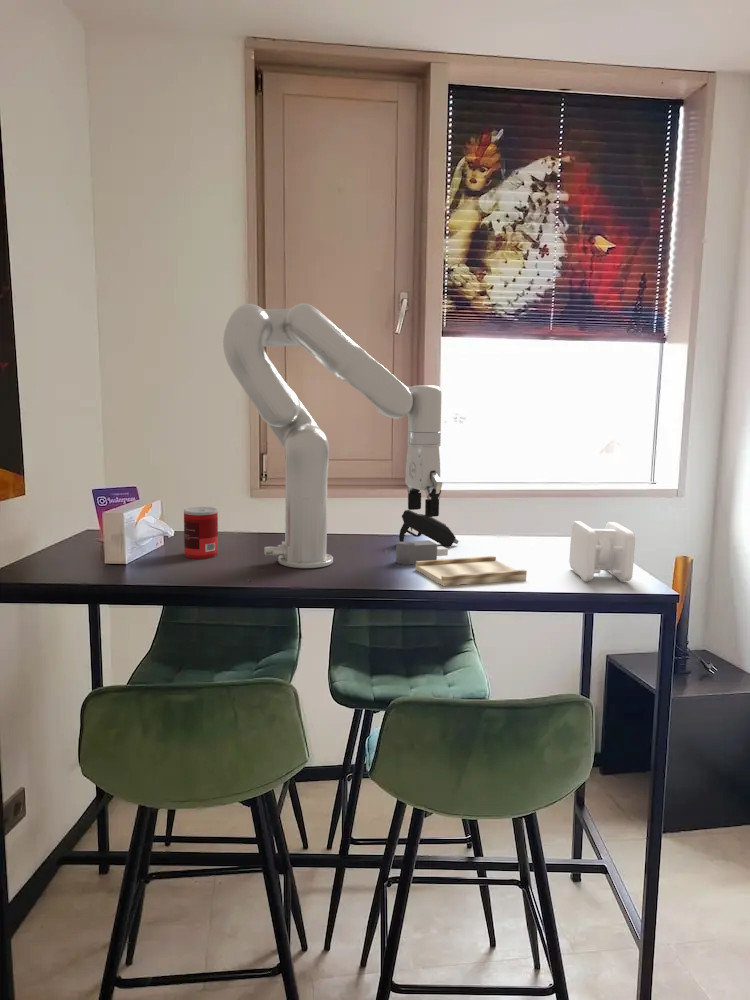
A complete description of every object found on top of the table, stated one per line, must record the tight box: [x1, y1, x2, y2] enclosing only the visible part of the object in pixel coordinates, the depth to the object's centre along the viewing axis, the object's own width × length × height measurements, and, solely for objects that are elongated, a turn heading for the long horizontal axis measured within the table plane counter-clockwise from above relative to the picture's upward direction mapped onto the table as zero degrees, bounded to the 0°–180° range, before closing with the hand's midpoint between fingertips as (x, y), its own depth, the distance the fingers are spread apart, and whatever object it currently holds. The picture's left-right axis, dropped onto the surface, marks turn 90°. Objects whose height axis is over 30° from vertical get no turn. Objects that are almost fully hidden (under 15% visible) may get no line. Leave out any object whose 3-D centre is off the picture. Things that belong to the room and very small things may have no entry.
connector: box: [395, 539, 449, 566], centre depth 167 cm, size 12×4×4 cm, turn 111°
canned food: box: [183, 506, 219, 560], centre depth 167 cm, size 8×8×11 cm
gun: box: [398, 509, 460, 548], centre depth 186 cm, size 3×16×10 cm, turn 89°
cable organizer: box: [568, 520, 636, 583], centre depth 158 cm, size 15×11×12 cm
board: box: [415, 555, 528, 587], centre depth 157 cm, size 20×14×2 cm
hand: (422, 512), depth 166 cm, fingers open, 9 cm apart
